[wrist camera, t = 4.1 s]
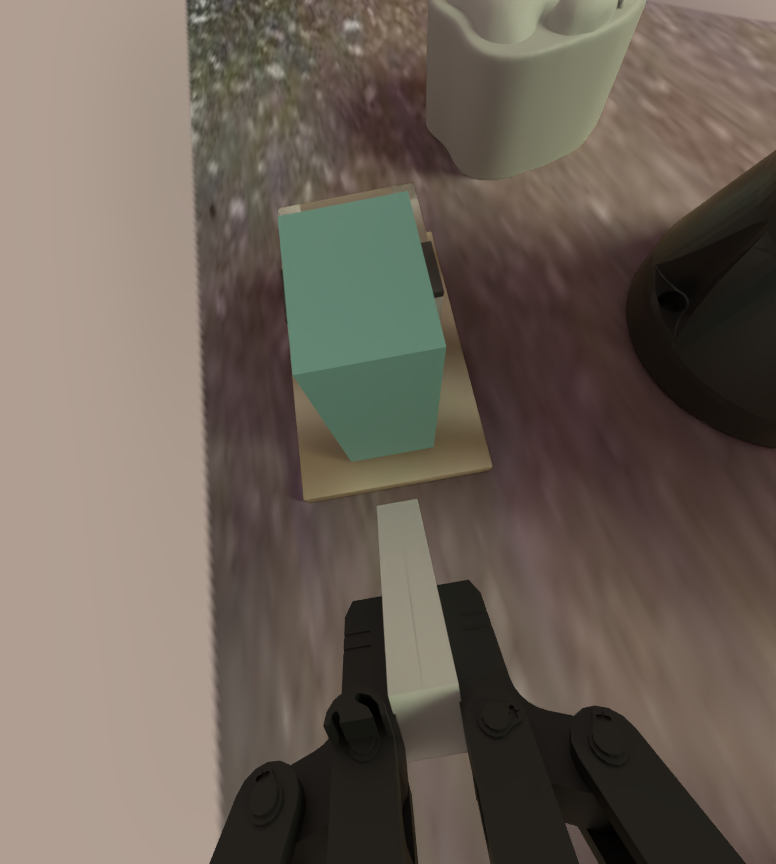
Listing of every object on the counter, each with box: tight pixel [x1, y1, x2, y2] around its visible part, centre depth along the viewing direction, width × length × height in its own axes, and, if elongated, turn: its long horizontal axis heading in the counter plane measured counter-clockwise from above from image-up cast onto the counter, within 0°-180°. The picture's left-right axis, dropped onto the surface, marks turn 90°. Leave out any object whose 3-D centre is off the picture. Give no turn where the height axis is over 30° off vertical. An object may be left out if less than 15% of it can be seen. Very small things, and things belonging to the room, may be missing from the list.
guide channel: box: [278, 182, 493, 503], centre depth 21 cm, size 16×10×6 cm, turn 9°
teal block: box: [278, 191, 446, 462], centre depth 17 cm, size 6×4×10 cm
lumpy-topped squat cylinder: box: [426, 0, 647, 180], centre depth 25 cm, size 10×13×9 cm
